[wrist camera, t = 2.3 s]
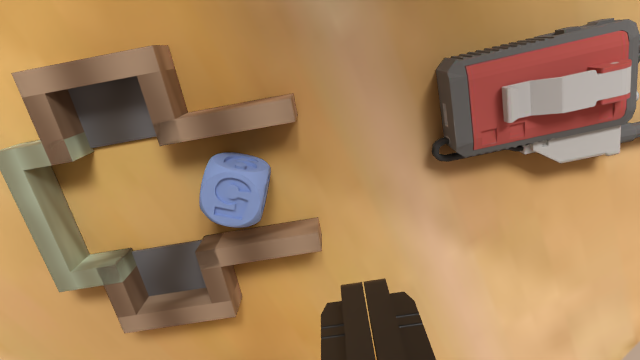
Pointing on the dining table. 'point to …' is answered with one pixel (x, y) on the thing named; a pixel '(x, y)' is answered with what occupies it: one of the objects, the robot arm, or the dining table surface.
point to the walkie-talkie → (544, 94)
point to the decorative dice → (234, 189)
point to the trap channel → (122, 126)
